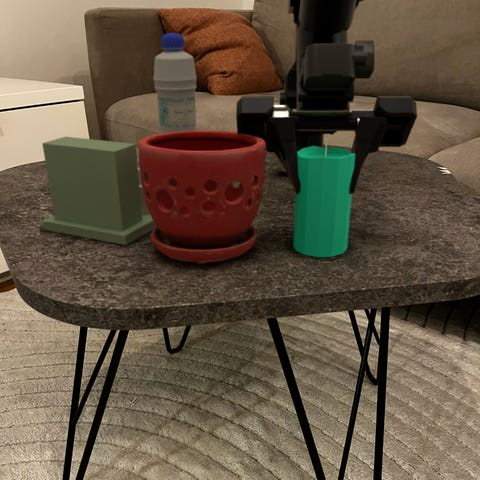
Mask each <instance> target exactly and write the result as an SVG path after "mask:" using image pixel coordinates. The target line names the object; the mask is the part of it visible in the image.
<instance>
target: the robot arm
mask: <svg viewBox="0 0 480 480" xmlns="http://www.w3.org/2000/svg"><path fill="white" fill-rule="evenodd" d="M361 2H364V0H287V14H288V15H293V16H292V17H293V18H292V19H293V20H292V21H293V23H294V24H295V36H294V37H295V40H294V41H295V44H294V62H293V64H292V66H291V68H289V71H288V73H287V75H286V76H285V79H284V85H283V88H284V89H283V91H280V92H279V100H278V101H279V103H278V104H275V97H274V95H243V96H241V97H240V98H239V99H238V100H237V101H236V114H235V116H236V117H235V120H236V132H237V134H240V133H243V134H249V135H253V136H257V137H259V138H262V139H263V140H264V141H265V143H266V153H269V154H270V153H272V154H275V156H276V157H277V159H278V160H279V162H280V164H281V165H282V167H280V168H279V169H277V174H281V175H287V177H288V179H289V181H290V183H291V186H292V188H293V190H294V194H295V193H296V194H299V193H300V180H299V177H298V161H297V152H298V151H299V150H301V149H303V148H307V147H310V146H318V147H323V148H324V136H325V135H331V136H334V134H336V133H338V132H354V138H353V142H352V145H351V150H350V152H351V153H355V164H354V170H353V174H352V178H351V187H350V194H352V195H354V193H355V190H356V187H357V183H358V181H359V178H360V174H361V171H362V167H363V166H364V163H365V161H366V160H367V158H368V156H369V154H373V153H375V154H376V153H378V151H379V150H380V148H400V147H403V146H405V145H407V142H408V139H409V137H410V135H411V132H412V130H413V128H414V125H415V122H416V120H417V118H418V110H417V109H418V108H417V102H416V100H414V99H413V97H412V96H410V95H377V97H376V100H375V103H374V105H373V110H352V108H351V103H353V102H354V99H355V96H356V95H355V94H356V93H355V81H356V79H358V80H359V79H363V80H364V79H367V80H368V79H371V77H372V75H373V73H374V71H375V64H376V62H375V60H376V52H375V51H376V50H375V41H374V40H355V41H354V44H353V43H348V42H349V41H348V31H349V29H350V28H351V26H352V24H353V20H354V15H355V11H356V10H357V9H358V7H359V4H360V3H361Z"/></svg>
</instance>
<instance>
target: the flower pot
mask: <svg viewBox="0 0 480 480" xmlns="http://www.w3.org/2000/svg"><path fill="white" fill-rule="evenodd" d="M266 161H267V151H266V143H265V141H264V140H263V139H262V138H259V137H257V136H253V135H249V134H243V133H240V134H237V131H225V130H224V131H223V130H196V131H181V132H170V133H163V134H160V133H157V134H152V135H149V136H146V137H143V138H142V139H141V140H139V142H138V165H139V166H138V168H140V175H141V184H142V188H143V192H144V197H145V202H146V205H147V208H148V210H149V213H150V215H151V217H152V219H153V221H154V223H155V224H156V226H157V227H156V228H155V229H154V230H152V231H151V233H150V240H151V243H152V245H153V246H154V248H156V249H157V251H159V252H160V253H162V254H163V255H164V256H167V257H169V258H171V259H175V260H176V261H182V262H188V263H189V262H190V263H196V264H197V265H204V264H206V263H214V262H223V261H228V260H231V259H235V258H237V257H240V256H242V255H244V254H245V253H246V252H248V251H249V250H250V249H251V248H252V247H253V246H254V245H255V243H256V240H257V238H258V232H257V230H256V228H255V227H254V226H252V224H253V223H254V220H255V218H256V216H257V215H258V211H259V209H260V206H261V202H262V198H263V192H264V186H265V178H266V165H267V163H266ZM234 182H238V183H239V184H238V186H236V187H235V186H234V184H233V183H234Z"/></svg>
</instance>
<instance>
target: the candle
mask: <svg viewBox="0 0 480 480" xmlns="http://www.w3.org/2000/svg"><path fill="white" fill-rule="evenodd" d="M328 139H329V136H325V147H324V146H323V147H318V146H310V147H307V148H303V149H301V150H299V151H298V152H297V161H298V177H299V180H300V193H299V194H296V193H295V192H294V218H293V219H294V220H293V242H292V243H293V244H292V245H293V248H294V251H296V252H298V253H300V254H301V255H304V256H310V257H315V258H328V257H329V258H330V257H332V258H333V257H336V256H339V255H342V254H344V253H345V252H346V251H347V250H348V244H349V243H348V242H349V233H350V232H349V231H350V221H351V211H352V210H351V209H352V199H353V194H350V187H351V178H352V174H353V170H354V164H355V153H351V151H349V150H347V149H346V148H344V147H341V146H340V147H328Z"/></svg>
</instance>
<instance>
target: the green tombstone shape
mask: <svg viewBox="0 0 480 480" xmlns="http://www.w3.org/2000/svg"><path fill="white" fill-rule="evenodd" d="M42 149H43V150H42V151H43V155H44V162H45V168H46V176H47V180H48V186H49V194H50V199H51V205H52V212H53V216H51V217H48V218H46V219H44V220H42V226H43V231H48V232H53V233H59V234H63V235H64V234H65V235H70V236H74V237H80V238H84V239H85V238H86V239H91V240H97V241H101V242H107V243H112V244H119V245H124V246H127V245H129V244H131V243H133V242H134V241H137V240H138V239H140V238H142V237H143V236H145V235H147V234H148V233H150V232H152V231H153V230H154V229H155V228H156V227H157V226H156V224H155V223H154V221H153V219H152V217H151V215H150V213H149V210H148V208H147V205H146V202H145V197H144V192H143V188H142V184H141V175H140V167H139V166H138V165H139V164H138V156H137V153H138V152H137V145H136V143H130V142H121V141H110V140H102V139H91V138H83V137H72V136H62V137H59V138H56V139H53V140H48V141H45V142H42Z"/></svg>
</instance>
